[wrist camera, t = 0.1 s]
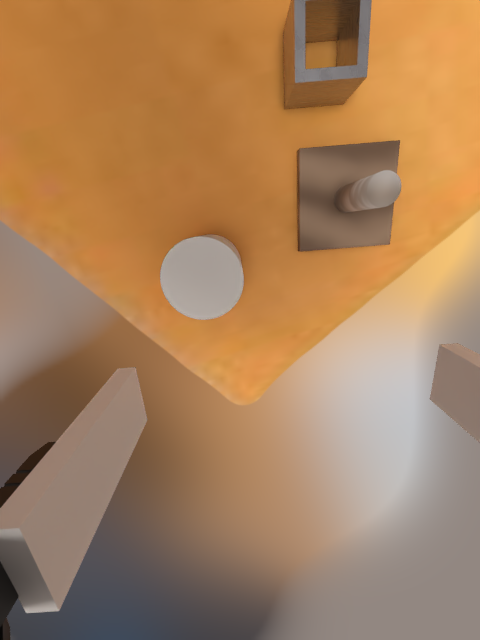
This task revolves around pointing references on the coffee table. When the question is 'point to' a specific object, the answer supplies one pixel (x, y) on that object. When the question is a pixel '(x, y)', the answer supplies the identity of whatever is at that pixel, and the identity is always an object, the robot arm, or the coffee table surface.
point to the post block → (346, 195)
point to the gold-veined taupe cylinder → (202, 276)
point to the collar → (325, 25)
